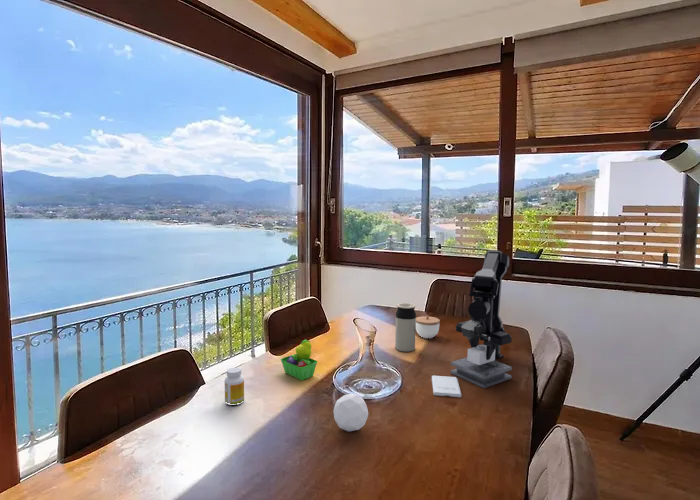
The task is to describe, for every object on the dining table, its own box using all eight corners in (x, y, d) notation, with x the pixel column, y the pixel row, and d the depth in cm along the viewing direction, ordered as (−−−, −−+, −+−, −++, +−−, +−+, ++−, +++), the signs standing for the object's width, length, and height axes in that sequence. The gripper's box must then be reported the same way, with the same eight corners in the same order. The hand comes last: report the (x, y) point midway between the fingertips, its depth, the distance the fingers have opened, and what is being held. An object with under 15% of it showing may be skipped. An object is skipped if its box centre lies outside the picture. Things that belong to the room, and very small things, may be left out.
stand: (477, 364, 146) (477, 354, 145) (511, 378, 134) (511, 366, 134) (450, 373, 138) (450, 361, 138) (484, 388, 126) (484, 376, 126)
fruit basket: (279, 373, 137) (279, 341, 136) (299, 366, 143) (299, 335, 142) (301, 383, 129) (301, 349, 128) (321, 375, 136) (321, 342, 135)
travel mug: (392, 350, 160) (393, 306, 158) (398, 344, 167) (399, 302, 166) (412, 353, 157) (413, 308, 155) (416, 346, 164) (418, 303, 163)
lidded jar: (442, 335, 180) (443, 314, 179) (434, 341, 171) (434, 320, 170) (420, 331, 186) (420, 311, 185) (410, 337, 177) (411, 316, 176)
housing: (467, 360, 135) (467, 346, 135) (482, 355, 140) (483, 341, 139) (479, 365, 131) (479, 350, 131) (494, 360, 136) (495, 346, 135)
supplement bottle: (248, 399, 118) (247, 367, 117) (237, 408, 113) (236, 374, 112) (232, 396, 119) (231, 365, 118) (221, 405, 114) (220, 372, 113)
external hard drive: (456, 381, 133) (461, 399, 120) (431, 379, 134) (433, 396, 122) (457, 377, 133) (461, 393, 120) (431, 375, 134) (433, 391, 122)
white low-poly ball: (369, 434, 97) (375, 415, 108) (359, 396, 97) (366, 382, 109) (335, 441, 98) (345, 422, 110) (325, 404, 99) (336, 389, 111)
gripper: (445, 309, 137) (443, 353, 139) (491, 322, 122) (489, 371, 123) (467, 305, 143) (465, 347, 145) (513, 317, 128) (511, 364, 129)
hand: (481, 357), depth 136 cm, fingers closed on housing, 5 cm apart
